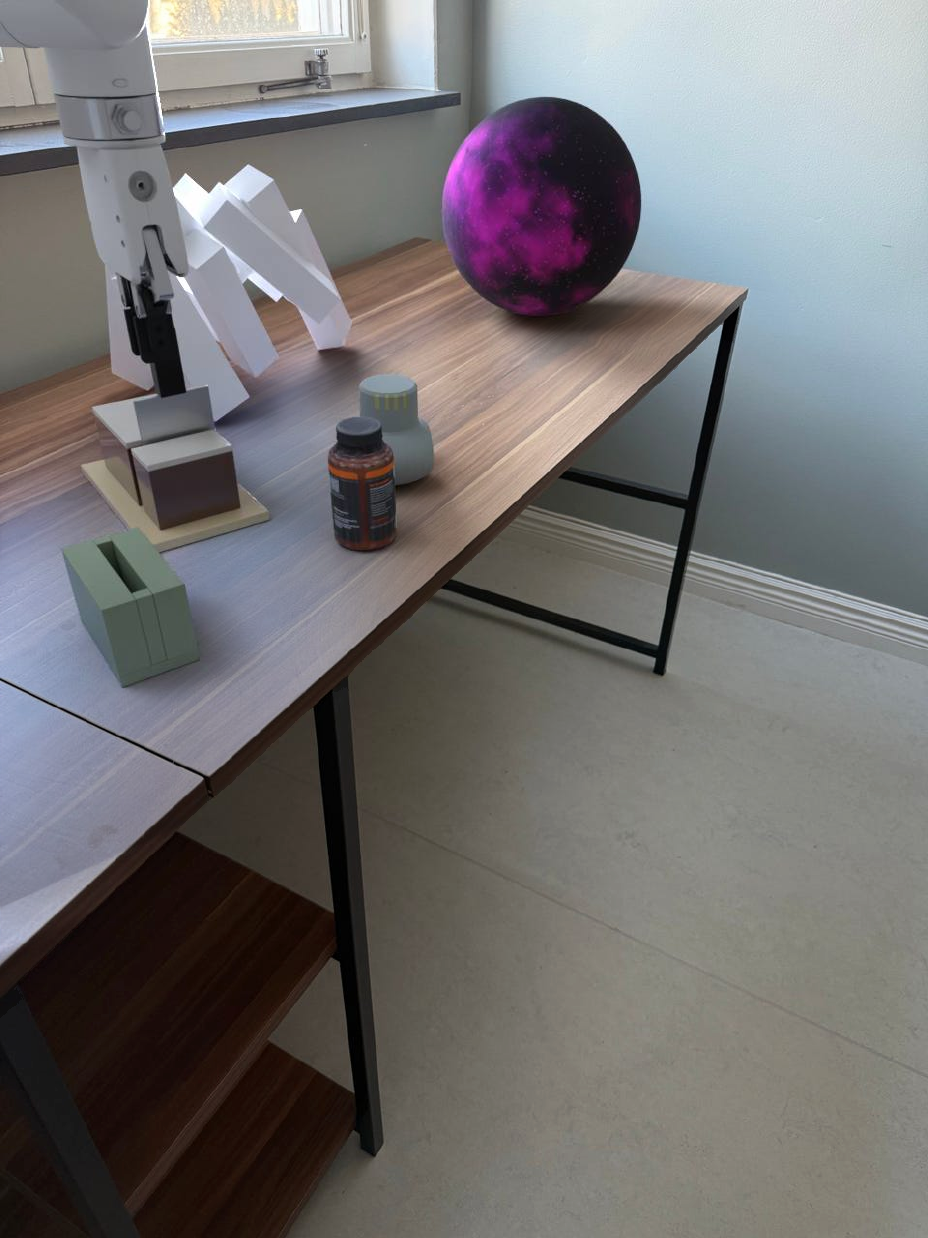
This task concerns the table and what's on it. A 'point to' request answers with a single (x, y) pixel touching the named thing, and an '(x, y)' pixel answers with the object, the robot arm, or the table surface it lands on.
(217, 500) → the cake
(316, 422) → the table surface
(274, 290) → the pile of blocks
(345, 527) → the supplement bottle
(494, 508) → the table surface
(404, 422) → the air freshener
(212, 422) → the knife
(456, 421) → the table surface
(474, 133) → the purple galaxy ball
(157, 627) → the knife block
